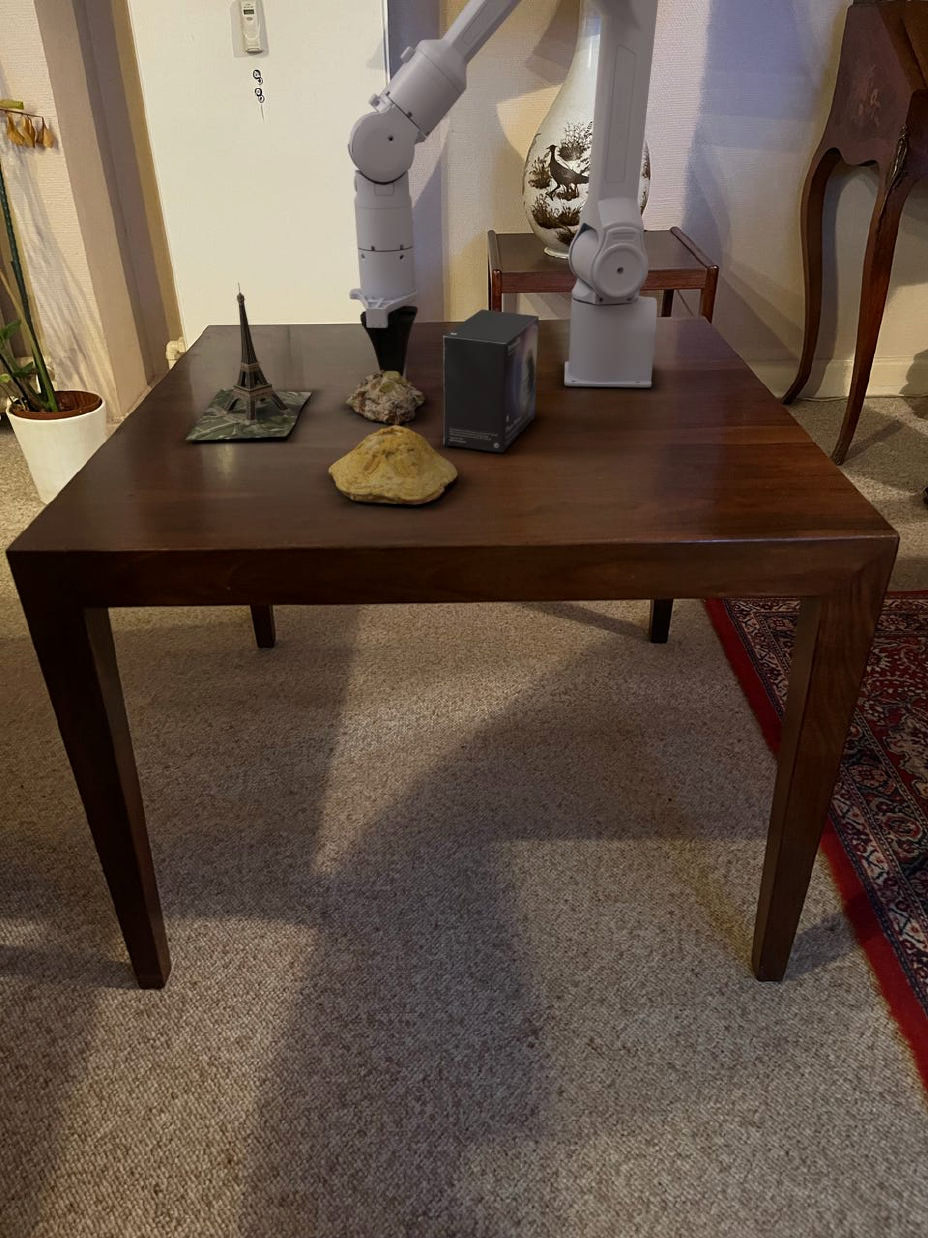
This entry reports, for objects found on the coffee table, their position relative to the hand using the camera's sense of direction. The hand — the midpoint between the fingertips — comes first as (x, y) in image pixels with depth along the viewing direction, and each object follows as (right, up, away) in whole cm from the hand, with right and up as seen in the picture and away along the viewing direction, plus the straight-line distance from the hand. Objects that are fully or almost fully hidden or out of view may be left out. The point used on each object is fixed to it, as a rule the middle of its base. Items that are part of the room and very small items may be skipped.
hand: (392, 377), depth 102 cm
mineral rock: (0, -5, -4) cm, 6 cm away
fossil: (+1, -15, -21) cm, 25 cm away
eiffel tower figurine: (-14, -6, -6) cm, 16 cm away
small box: (+11, -8, -10) cm, 17 cm away
